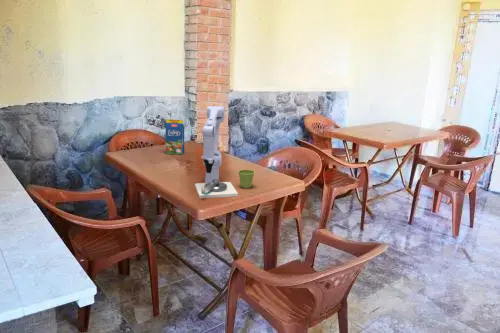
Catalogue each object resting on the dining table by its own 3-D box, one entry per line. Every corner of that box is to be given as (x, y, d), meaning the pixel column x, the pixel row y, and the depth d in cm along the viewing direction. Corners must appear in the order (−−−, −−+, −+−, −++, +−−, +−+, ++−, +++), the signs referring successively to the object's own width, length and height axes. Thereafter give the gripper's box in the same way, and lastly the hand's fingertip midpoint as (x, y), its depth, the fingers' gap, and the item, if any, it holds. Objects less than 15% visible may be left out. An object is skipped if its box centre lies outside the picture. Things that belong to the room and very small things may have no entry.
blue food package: (168, 152, 301) (167, 118, 294) (184, 153, 300) (184, 119, 293) (165, 154, 295) (165, 119, 288) (182, 155, 294) (181, 120, 287)
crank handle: (210, 183, 227) (210, 176, 226) (230, 186, 223) (230, 178, 222) (191, 195, 208) (191, 187, 206) (213, 198, 204) (213, 190, 202)
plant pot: (240, 189, 224) (240, 174, 221) (235, 184, 232) (236, 169, 230) (256, 188, 226) (256, 173, 224) (251, 183, 235) (252, 169, 233)
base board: (194, 186, 227) (194, 183, 226) (230, 184, 232) (230, 181, 231) (199, 198, 208) (199, 195, 208) (237, 196, 213) (237, 193, 213)
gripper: (199, 145, 222) (199, 169, 226) (203, 151, 209) (203, 177, 213) (212, 145, 224) (212, 168, 228) (216, 151, 211) (216, 176, 214)
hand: (208, 172), depth 220 cm, fingers closed
